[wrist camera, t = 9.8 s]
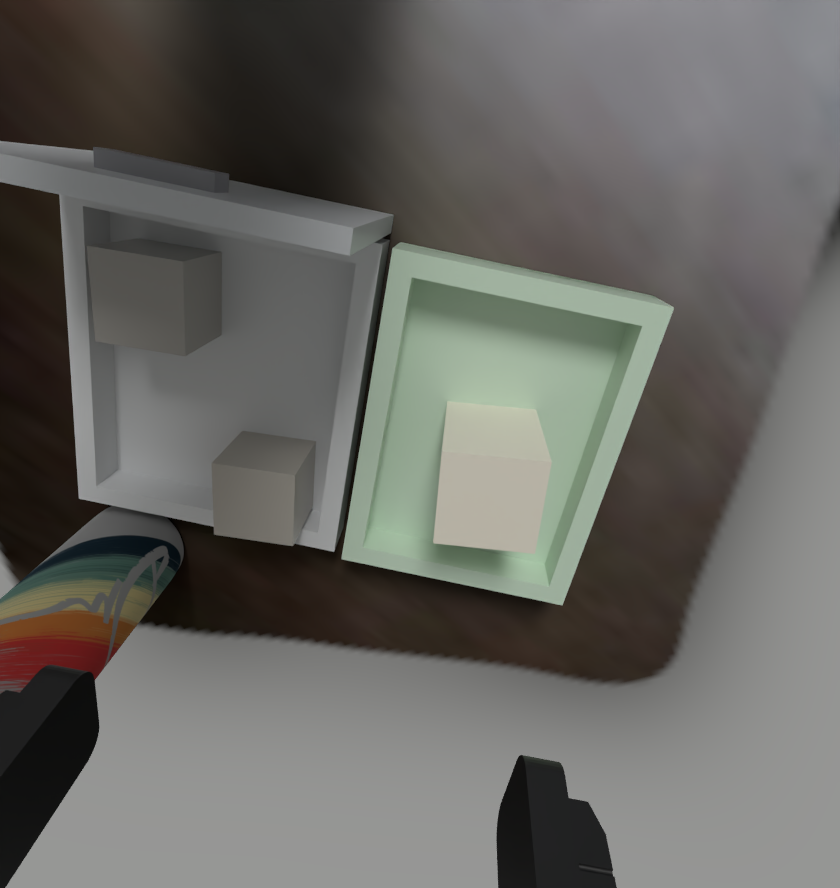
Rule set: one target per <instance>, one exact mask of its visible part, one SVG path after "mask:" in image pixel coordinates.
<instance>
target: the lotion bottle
mask: <svg viewBox="0 0 840 888" xmlns="http://www.w3.org/2000/svg"><path fill="white" fill-rule="evenodd" d="M183 556H184V547H183V542H182V539H181V536H180V534H179V532H178V531H177V529H176V527H175V526H174V525H173V524H172V523H171V522H170V520H168V519H167V518H166V517H165V516H160V515H155V514H151V513H146V512H141V511H136V510H131V509H127V508H122V507H117V506H111V507H109V508H107V509H105V510H104V511H102V512H101V513H99V514H98V515H97V516H96V517H94V518H93V519H92V520H91V521H90V522H88V523H87V524H86V525H85V526H84V527H83V528H81V529H80V530H79V531H78V532H77V533H76V534H74V535H73V536H72V537H71V538H70V539H69V540H68V541H66V542H65V543H64V544H63V545H62V546H61V547H59V548H58V549H57V550H56V551H55V552H54V553H53V554H51V555H50V556H49V557H48V558H47V559H46V560H45V561H43V562H42V563H41V564H40V565H39V566H38V567H37V568H35V569H34V570H33V571H32V572H31V573H30V574H28V575H27V576H26V577H25V578H24V579H23V580H22V581H20V582H19V583H18V584H17V585H16V586H15V587H14V588H12V589H11V590H10V591H9V592H8V593H7V594H6V595H4V596H3V597H2V598H1V599H0V694H1V693H2V692H4V691H5V690H9V691H14V692H21V691H22V690H23V688H24V687H25V686H26V685H27V684H28V683H29V682H30V680H31V679H32V678H33V677H34V676H35V675H36V674H37V673H38V671H39V670H41V669H42V668H43V667H45V666H47V665H57V666H62V667H67V668H73V669H78V670H83V671H88V672H91V673H92V674H93V676H94V680H95V679H96V678H97V676H98V675H99V674H100V673H101V671H102V670H103V669H104V667H105V666H106V665H107V663H108V662H109V661H110V660H111V658H112V657H113V656H114V654H115V653H116V652H117V650H118V649H119V648H120V646H121V645H122V644H123V643H124V641H125V640H126V638H127V637H128V636H129V635H130V633H131V632H132V631H133V629H134V628H135V627H136V626H137V624H138V623H139V622H140V620H141V619H142V618H143V616H144V615H145V614H146V612H147V611H148V610H149V609H150V607H151V606H152V605H153V603H154V602H155V601H156V599H157V598H158V597H159V595H160V594H161V593H162V592H163V590H164V589H165V588H166V586H167V585H168V584H169V582H170V581H171V580H172V578H173V577H174V575H175V574H176V572H177V571H178V569H179V567H180V565H181V563H182V560H183Z"/></svg>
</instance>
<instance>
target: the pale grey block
mask: <svg viewBox="0 0 840 888" xmlns="http://www.w3.org/2000/svg"><path fill="white" fill-rule="evenodd" d="M315 453H316V441H311V440H304V439H297V438H290V437H283V436H276V435H269V434H262V433H255V432H248V431H242V432H241V433H240V434H239V435H238V436H237V437H236V438H235V439H234V440H233V441H232V442H231V443H230V444H229V445H228V446H227V447H226V448H225V449H224V451H223V452H222V453H221V454H220V455H219V456H218V457H217V458H216V459H215V460H214V461H213V462H212V463H211V465H212V493H213V520H214V535H220V536H227V537H234V538H240V539H247V540H254V541H261V542H268V543H275V544H282V545H288V546H293V545H294V543H295V541H296V539H297V537H298V535H299V533H300V531H301V529H302V527H303V525H304V523H305V521H306V519H307V517H308V515H309V513H310V511H311V509H312V507H313V495H314V474H315Z"/></svg>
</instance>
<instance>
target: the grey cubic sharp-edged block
mask: <svg viewBox="0 0 840 888" xmlns="http://www.w3.org/2000/svg"><path fill="white" fill-rule="evenodd" d="M87 255H88V266H89V277H90V288H91V300H92V311H93V322H94V333H95V341H96V342H102V343H108V344H114V345H120V346H126V347H132V348H138V349H144V350H150V351H156V352H162V353H168V354H174V355H180V356H187V355H189V354H190V353H192V352H194V351H195V350H197V349H199V348H201V347H202V346H204V345H206V344H207V343H209V342H211V341H212V340H214V339H216V338H218V337H219V336H221V335H222V252H220V251H214V250H208V249H202V248H196V247H189V246H183V245H177V244H171V243H165V242H159V241H153V240H146V239H140V238H136V239H129V240H123V241H116V242H109V243H102V244H95V245H88V246H87Z"/></svg>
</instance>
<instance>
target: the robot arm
mask: <svg viewBox="0 0 840 888" xmlns="http://www.w3.org/2000/svg"><path fill="white" fill-rule="evenodd" d="M98 733H99V719H98V709H97V699H96V690H95V680H94V676H93V674H92V673H91V672H88V671H83V670H78V669H73V668H67V667H62V666H57V665H47V666H45V667H43V668H42V669H41V670H39V671H38V673H37V674H36V675H35V676H34V677H33V678H32V679H31V680H30V682H29V683H28V684H27V685H26V686H25V687H24V688H23V690H22V691H21V692H14V691H9V690H5V691H4V692H2V693H1V694H0V888H5V887H6V886H7V884H8V883H9V881H10V879H11V878H12V876H13V875H14V873H15V872H16V870H17V869H18V867H19V866H20V864H21V863H22V861H23V859H24V858H25V857H26V855H27V853H28V852H29V850H30V849H31V847H32V846H33V844H34V843H35V841H36V840H37V838H38V836H39V835H40V834H41V832H42V831H43V829H44V827H45V826H46V824H47V823H48V821H49V820H50V818H51V817H52V815H53V814H54V812H55V811H56V809H57V808H58V806H59V804H60V803H61V802H62V800H63V798H64V797H65V795H66V794H67V792H68V791H69V789H70V788H71V786H72V785H73V783H74V781H75V780H76V779H77V777H78V775H79V774H80V772H81V771H82V769H83V768H84V766H85V765H86V763H87V762H88V760H89V758H90V756H91V754H92V752H93V749H94V747H95V744H96V741H97V737H98ZM497 861H498V862H497V863H498V888H617V887H616V883H615V878H614V877H613V874H612V871H613V868H612V863H611V858H610V854H609V848H608V844H607V839H606V834H605V832H604V830H603V829H602V827H601V825H600V823H599V821H598V819H597V818H596V816H595V814H594V812H593V810H592V808H591V807H590V805H589V803H588V802H585V801H580V800H575V799H570V798H568V792H567V786H566V780H565V774H564V770H563V767H562V765H561V763H559V762H555V761H550V760H544V759H539V758H534V757H528V756H523V755H520V756H519V757H518V759H517V761H516V764H515V767H514V769H513V772H512V775H511V778H510V780H509V783H508V786H507V789H506V791H505V794H504V796H503V799H502V802H501V806H500V810H499V815H498V823H497Z"/></svg>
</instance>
